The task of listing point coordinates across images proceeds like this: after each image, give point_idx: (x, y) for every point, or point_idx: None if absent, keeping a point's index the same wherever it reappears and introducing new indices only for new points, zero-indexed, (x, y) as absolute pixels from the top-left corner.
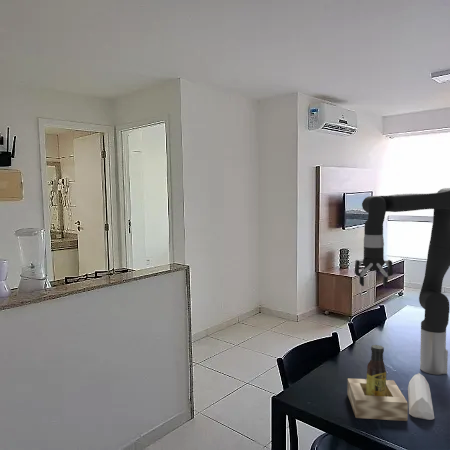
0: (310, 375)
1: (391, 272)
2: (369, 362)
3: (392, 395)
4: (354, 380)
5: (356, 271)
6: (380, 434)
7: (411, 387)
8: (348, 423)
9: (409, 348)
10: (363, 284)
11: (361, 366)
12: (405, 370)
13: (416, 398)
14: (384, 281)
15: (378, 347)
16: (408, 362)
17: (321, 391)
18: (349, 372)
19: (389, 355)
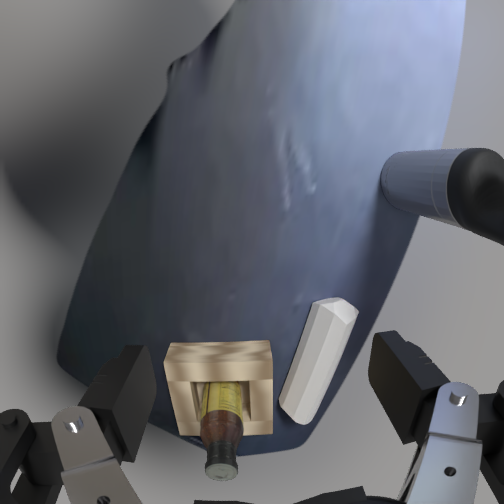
0: (88, 259)
1: (497, 460)
2: (203, 443)
3: (251, 417)
4: (178, 371)
5: (27, 498)
6: None
7: (311, 347)
8: (173, 425)
9: (385, 34)
10: (149, 401)
11: (221, 174)
12: (341, 187)
13: (296, 413)
14: (386, 411)
15: (223, 476)
16: (363, 130)
17: (118, 335)
18: (181, 223)
19: (322, 81)
